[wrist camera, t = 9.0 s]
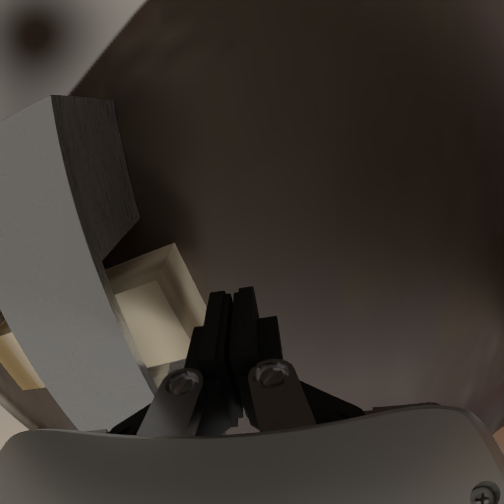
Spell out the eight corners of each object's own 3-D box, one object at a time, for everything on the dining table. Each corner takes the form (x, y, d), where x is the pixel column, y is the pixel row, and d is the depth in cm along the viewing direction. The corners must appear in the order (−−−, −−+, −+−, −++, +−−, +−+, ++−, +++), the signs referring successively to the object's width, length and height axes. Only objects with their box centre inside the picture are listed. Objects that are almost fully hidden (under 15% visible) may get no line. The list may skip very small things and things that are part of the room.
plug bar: (174, 242, 16) (156, 280, 12) (206, 306, 17) (199, 354, 13) (15, 307, 17) (-15, 341, 13) (46, 353, 18) (23, 390, 15)
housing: (113, 100, 13) (50, 94, 7) (203, 399, 20) (198, 467, 15) (20, 138, 13) (-51, 155, 8) (126, 403, 20) (108, 463, 15)
